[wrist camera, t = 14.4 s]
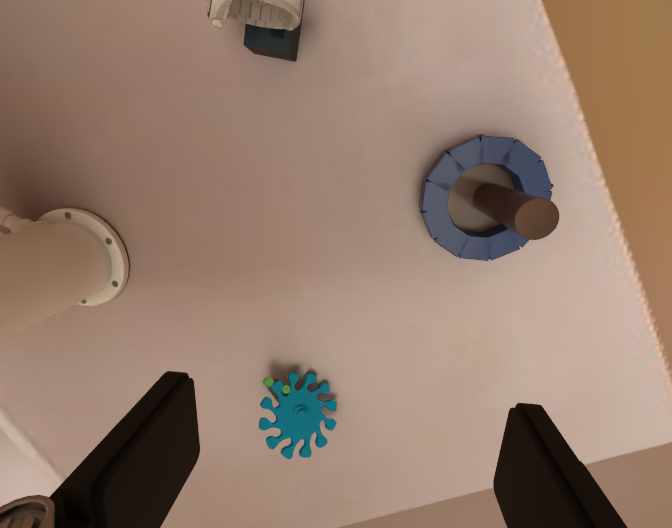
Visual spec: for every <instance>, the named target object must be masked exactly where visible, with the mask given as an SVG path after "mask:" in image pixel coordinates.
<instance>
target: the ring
mask: <svg viewBox="0 0 672 528" xmlns="http://www.w3.org/2000/svg"><path fill="white" fill-rule="evenodd" d="M540 159H541V157H540V156H539V155H537V154H536V153H535V152H533V151H532V150H531V149H529V148H528V147H527V146H525V145H524V144H523V143H521V142H520V141H519V140H514V138H505V137H490V136H479V137H474V138H470V139H468V140H466V141H464V142H462V143H460V144H458V145H456V146H454V147H452V148H449V149H447V150H445V153H442V154H441V155H440V156H439V158H438V159H437V160H436V162H435V163H434V164H433V166H432V167H431V168H430V170H429V171H428V172H427V174H426V175H425V176H424V177H425V178H426V179H427V180H423V183H422V190H421V198H420V205H419V208H420V212H421V215H422V217H423V220H424V222H425V224H426V227H427V229H428V231H429V234H430V235H431V237H432V239H434V241H435V242H436V243H438V244H439V245H441V246H442V247H443V248H445V249H446V250H448V251H449V252H450V253H452V254H453V255H455V256H456V257H457V256H459V258H465V259H475V260H485V261H488V260H489V259H490V260H493V259H496V258H499V257H501V256H504V255H506V254H509V253H511V252H514V251H516V250H519V249H520V248H519V246H521V247H523V246H524V245H525V244H526V243H527V242H528V241H529V240H530V239H526V238H524V237H522V236H521V235H519V234H517V233H515V232H514V231H512V230H510V229H509V228H507V227H505V226H504V225H502V224H500V225H499V226H496V227H494V228H491V229H489V230H487V231H484V232H482V233H481V232H471V231H463V230H462V229H460V228H459V227H458V226H456V225H455V224H453V222H452V219H451V217H450V214H449V212H448V209H447V204H448V198H449V192H450V188H451V187H452V186H453V184H454V183H455V182H456V180H457V179H458V178H459V177H460V175H461V174H462V173H463V172H464V171H467V170H469V169H471V168H473V167H475V166H477V165H480V164H482V163H485V164H496V165H498V166H499V167H500V168H502V169H503V170H504V171H506V172H507V173H508V174H510V176H511V178H512V181H513V184H514V187H515V190H517V191H520V192H524V193H527V194H531V195H534V196H538V197H541V198H545V199H548V200H550V199H551V195H552V191H548V190H550V189H552V186H551V183H550V180H549V177H548V174H547V171H546V168H545V165H544V161H543V160H540Z"/></svg>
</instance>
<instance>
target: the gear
mask: <svg viewBox="0 0 672 528" xmlns="http://www.w3.org/2000/svg"><path fill="white" fill-rule="evenodd" d="M316 379H317V378H316V377H315V376H314V375H313V374H311V373H307V374H306V376H305V380H304V383H303V385H302V386H301V387H300V388H299V389H298V390H295V388H294V384H295V383H296V382H297V381H298V380H299V374H296V373H289V374H288V380H289V386H288V385H283V383H282V382H281V381H279V380H278V379H272V378H264V380H263V385H264V386H267V388H268V390H269V391H270V392H271V394H272V395H273V396H274V398H275V399H276V400H277V401H278V403H279V405H278V407H276V408H274V407H273V405H272V400H271V399H270V398H268V397H265V398H264V399H263V400H262V402H261V404H260V406H261V407H262V408H264V409H269V410H271V411H272V412H273V413H274V414H275V415H276V421H275V422H274V423H271V422H270V421H269V420H268V419H267V418H260V421H259V429H261V430H267V429H269V428H273V427H274V428H279V429H280V430H281V434H280V436H278V437H274V436H269V437H267V438H266V442H267V445H268V447H269V448H270V449H274V448H275V447H276V446H277V445H278V443H279V442H281V441H282V440H284V439H286V438H291V444H290V445H289V446H286V447H283V448H282V450H281V454H282V455H283V456H284V457H286V458H287V459H291V458H292V456H293V451H294V448H295V446H296V444H297V443H298V442H299V441H300V440H301V439H304V445H303V446H302V447H301V449H300V450H299V455H300V456H301V457H305V458H306V457H310V456H311V449H310V439H311V435H312V434H313V433H314V432H316V434H317V437H316V440H315V444H316V446H317V447H319V448H321V447H323V446H325V445H326V444H327V439H326V438H325V437H324V436H323V435H322V433H321V431H320V426H319V424H320V422H321V421H322V420H323V421H324V423H325V427H326V429H328V430H331V431H332V430H333V429H334V427H335V425H336V421H335V420H333V419H328V418H327V417H325V416H324V414H323V413H322V411H321V409H322V407H323V406H326V408H327V409H328V410H331V411H334V410H336V401H335V400H328V401H326V402H321V401H319V400H318V399H317V394H318V393H324V394H327V393H329V391H330V389H329V387H328V385H327V383H321V384H320V385H319V387H318V388H317V389H316V390H314V391H311V392H308V390H307V386H308V385H309V384H312V383H314V382H315V381H316Z"/></svg>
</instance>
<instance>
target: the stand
mask: <svg viewBox="0 0 672 528" xmlns="http://www.w3.org/2000/svg"><path fill="white" fill-rule="evenodd" d="M479 136H484V135H482V134H481V135H478V136H477V137H479ZM551 186H552V187H553V186H554V185H553V184H551ZM550 190H551V189H550ZM550 190H548V191H550ZM447 209H448V212H449V214H450V217H451V219H452V222H453V224H455V225H456V226H458V227H459V228H460V229H462V230H463V231H471V232H481V233H482V232H484V231H487V230H489V229H491V228H494V227H496V226H499V225H500V224H502V225H504V226H505V227H507V228H509V229H510V230H512V231H514V232H515V233H517V234H519V235H521V236H522V237H524V238H526V239H531V240H537V239H541V238H544V237H546V236H548V235H549V234H550V233H551V232H553V230H554V229H555V228H556V226H557V224H558V221H559V212H558V209H557V207H556V205H555V204H554V203H553V202H551V201H550V200H548V199H545V198H541V197H538V196H534V195H531V194H527V193H524V192H520V191H517V190H515V187H514V184H513V181H512V178H511V176H510V174H508V173H507V172H506V171H504V170H503V169H502V168H500V167H499V166H498V165H496V164H485V163H482V164H480V165H477V166H475V167H473V168H471V169H469V170H467V171H464V172H463V173H462V174H461V175H460V177H459V178H458V179H457V180H456V182H455V183H454V184H453V186H452V187H451V188H450V192H449V198H448V204H447Z"/></svg>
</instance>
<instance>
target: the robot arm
mask: <svg viewBox="0 0 672 528" xmlns="http://www.w3.org/2000/svg"><path fill="white" fill-rule="evenodd" d="M0 224H1V225H2V226H4V227H7V228H9V229H10V230H11V234H10V233H8V232H7V231H4V230H2V231H0V342H1V341H3V340H5V339H7V338H9V337H11V336H13V335H15V334H17V333H19V332H21V331H23V330H25V329H27V328H29V327H31V326H33V325H35V324H37V323H39V322H41V321H42V320H44V319H46V318H48V317H50V316H52V315H54V314H56V313H58V312H60V311H62V310H64V309H66V308H68V307H70V306H72V305H74V304H77V305H83V306H96V305H100V304H104V303H106V302H107V301H109V300H111V299H113V298H114V297H116V296H117V295H118V294H119V293H120V292H121V291H122V290H123V288H124V286H125V284H126V282H127V278H128V272H129V264H128V257H127V254H126V250H125V247H124V245H123V244H122V242H121V240H120V238H119V237H118V235H117V234H116V232H115V231H114V230H113V229H112V228H111V227H110V226H109V225H108V224H107V223H106V222H105V221H104V220H102V219H101V218H99V217H98V216H96V215H94V214H92V213H90V212H88V211H85V210H82V209H77V208H62V209H57V210H53V211H50V212H48V213H46V214H44V215H43V216H42V217H40V218H39V219H38V220H37V221H36V222H33V221H32V220H30V219H22V218H21V217H19V216H18V215H17V214H16V213H14V212H12V211H11V210H9V209H8V208H6V207H4V206H2V205H0ZM199 453H200V443H199V433H198V422H197V411H196V400H195V389H194V381H193V379H192V378H189V376H188V374H187V373H183V372H172V371H168V372H166V373H164V374H163V376H162V377H161V378H160V379H159V380H158V381H157V382H156V383H155V384H154V385H153V386H152V387H151V389H150V390H149V391H148V392H147V393H146V394H145V395H144V396H143V397H142V398H141V399H140V400H139V401H138V403H137V404H136V405H135V406H134V407H133V408H132V409H131V410H130V411H129V412H128V413H127V414H126V416H125V417H124V418H123V419H122V420H121V421H120V422H119V423H118V424H117V425H116V426H115V427H114V428H113V429H112V430H111V431H110V432H109V433H108V435H107V436H106V437H105V438H104V439H103V440H102V441H101V442H100V443H99V444H98V445H97V446H96V448H95V449H94V450H93V451H92V452H91V453H90V454H89V455H88V456H87V457H86V458H85V459H84V460H83V462H82V463H81V464H80V465H79V466H78V467H77V468H76V469H75V470H74V471H73V472H72V473H71V475H70V476H69V477H68V478H67V479H66V480H65V481H64V482H63V483H62V484H61V485H60V486H59V487H58V489H57V490H56V491H55V492H54V493H53V494H52V495H51V496H50V497H46V496H42V495H35V496H27V497H23V498H20V499H17V500H14V501H12V502H10V503H8V504H6V505H3V506H2V507H0V528H160V527H161V525H162V523H163V522H164V520H165V518H166V516H167V514H168V513H169V511H170V509H171V507H172V505H173V504H174V502H175V500H176V498H177V497H178V495H179V493H180V491H181V489H182V488H183V486H184V484H185V482H186V480H187V479H188V477H189V475H190V473H191V471H192V470H193V468H194V466H195V464H196V462H197V460H198V457H199ZM494 492H495V495H496V498H497V501H498V503H499V506H500V509H501V511H502V514H503V517H504V520H505V523H506V525H507V528H627V526H626V525H625V523H624V522H623V521H622V519H621V518H620V516H619V515H618V513H617V512H616V510H615V509H614V508H613V506H612V505H611V503H610V502H609V500H608V499H607V497H606V496H605V495H604V493H603V491H602V490H601V488H600V487H599V486H598V484H597V483H596V481H595V480H594V478H593V477H592V476H591V474H590V472H589V471H588V470H587V468H586V467H585V466H584V464H583V463H582V462H581V461H579V460H578V458H577V457H576V455H575V454H574V452H573V451H572V450H571V448H570V447H569V445H568V444H567V442H566V441H565V439H564V438H563V436H562V435H561V433H560V432H559V430H558V429H557V427H556V426H555V425H554V423H553V422H552V420H551V419H550V417H549V416H548V414H547V413H546V411H545V410H544V408H543V407H542V406H541V405H537V404H526V403H518V404H517V405H516V407H515V408H510V410H509V414H508V418H507V423H506V427H505V431H504V436H503V440H502V445H501V449H500V454H499V458H498V463H497V467H496V472H495V476H494Z"/></svg>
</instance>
